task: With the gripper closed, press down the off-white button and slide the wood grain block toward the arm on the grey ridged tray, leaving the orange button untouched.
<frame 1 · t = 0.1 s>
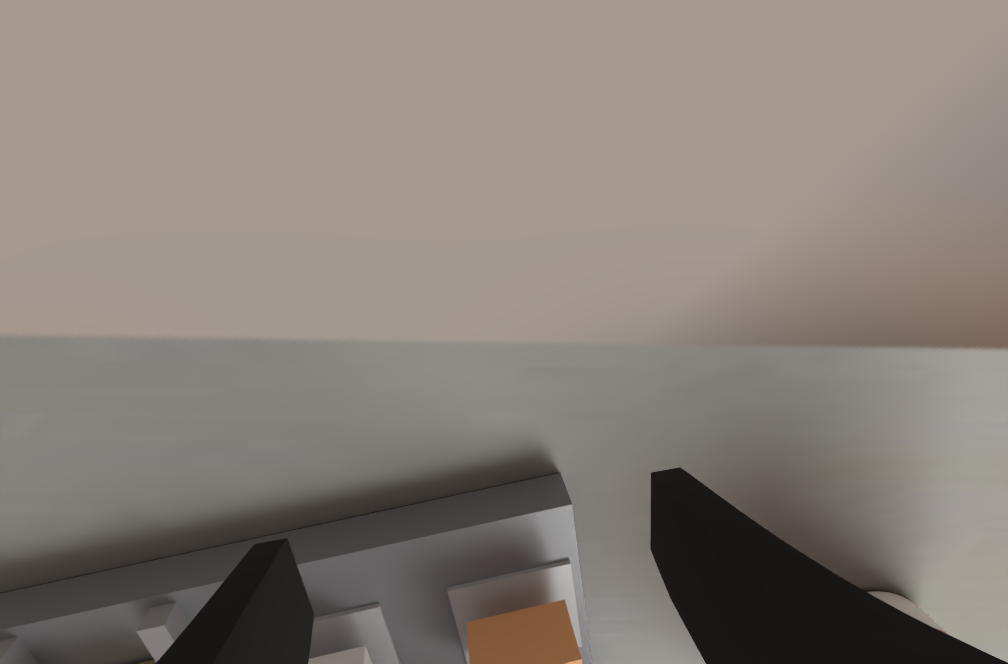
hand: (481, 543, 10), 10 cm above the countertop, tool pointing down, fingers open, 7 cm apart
grey ridged tray: (325, 637, 24), on the countertop
fruit juice: (839, 642, 30), on the countertop
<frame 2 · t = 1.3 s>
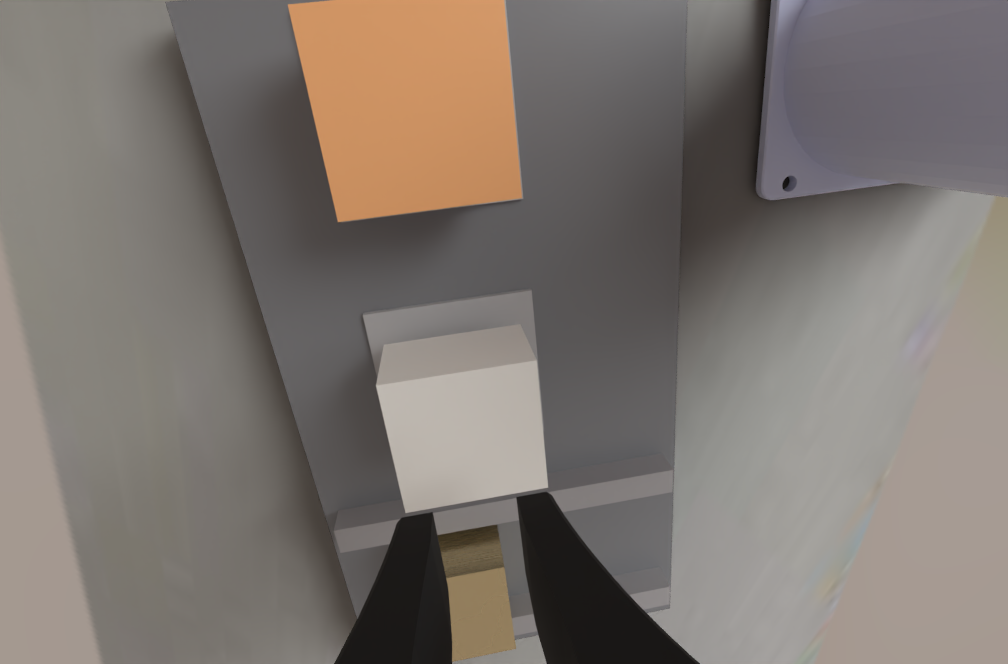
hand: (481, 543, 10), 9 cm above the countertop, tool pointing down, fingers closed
wood grain block: (465, 589, 19), point 3 cm above the countertop, slide at 0.0 cm
grey ridged tray: (486, 369, 19), on the countertop
off-white button: (464, 415, 15), point 5 cm above the countertop, slide at 0.0 cm
orange button: (416, 110, 12), point 5 cm above the countertop, slide at 0.0 cm
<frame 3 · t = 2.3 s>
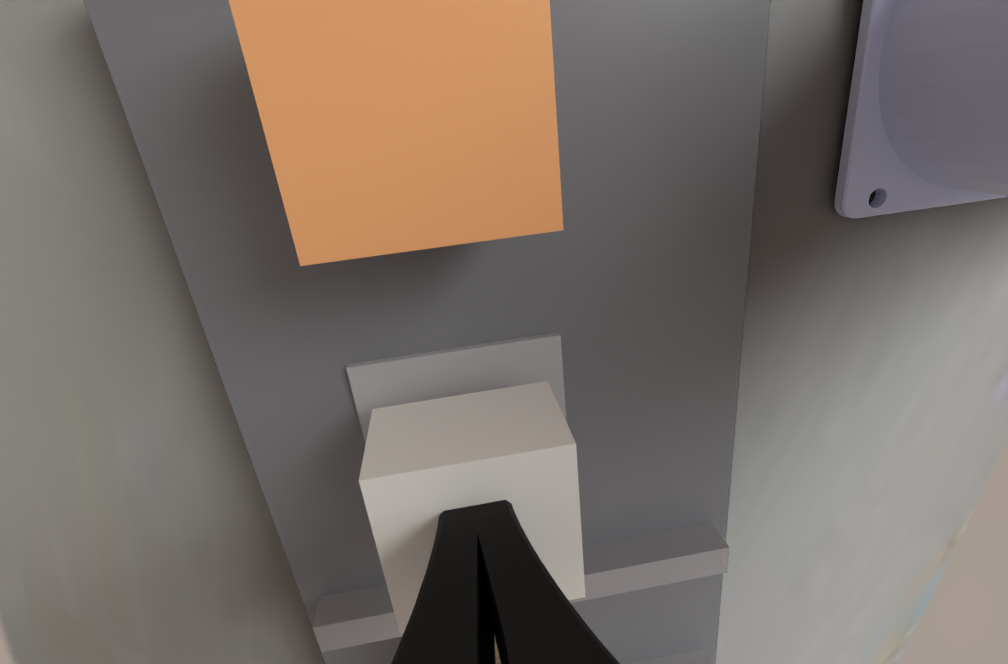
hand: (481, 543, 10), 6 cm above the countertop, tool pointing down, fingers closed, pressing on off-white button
grey ridged tray: (500, 421, 16), on the countertop
off-white button: (477, 501, 11), point 5 cm above the countertop, slide at 0.0 cm, touching gripper
orange button: (413, 106, 8), point 5 cm above the countertop, slide at 0.0 cm
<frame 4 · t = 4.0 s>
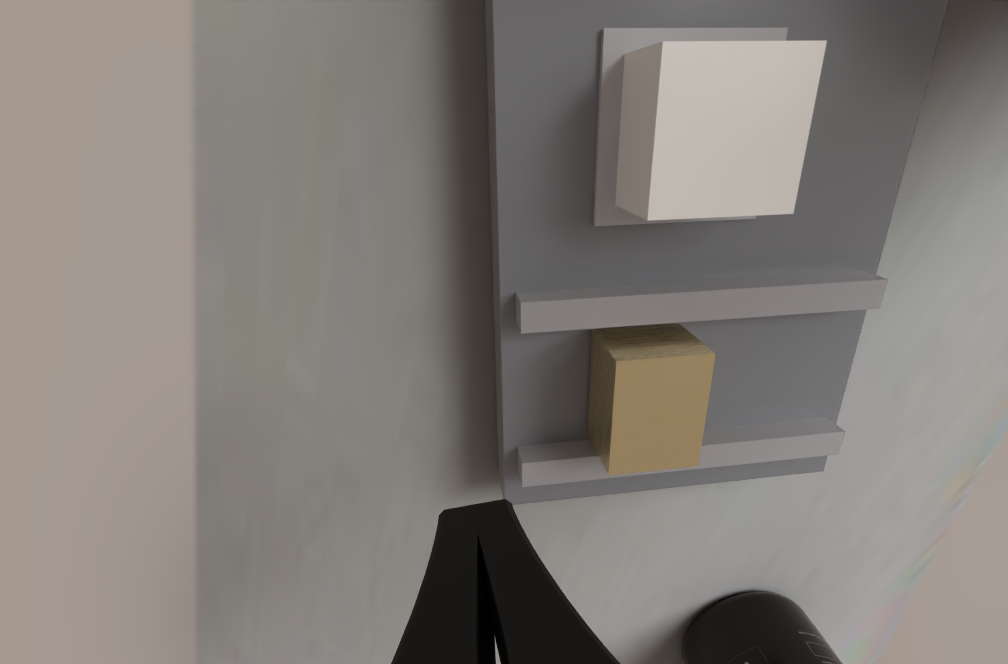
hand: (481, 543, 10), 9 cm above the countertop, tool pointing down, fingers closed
wood grain block: (644, 397, 17), point 3 cm above the countertop, slide at 0.0 cm
grey ridged tray: (681, 161, 17), on the countertop
supplement bottle: (736, 630, 28), on the countertop
off-white button: (708, 132, 14), point 3 cm above the countertop, slide at 1.1 cm, touching grey ridged tray
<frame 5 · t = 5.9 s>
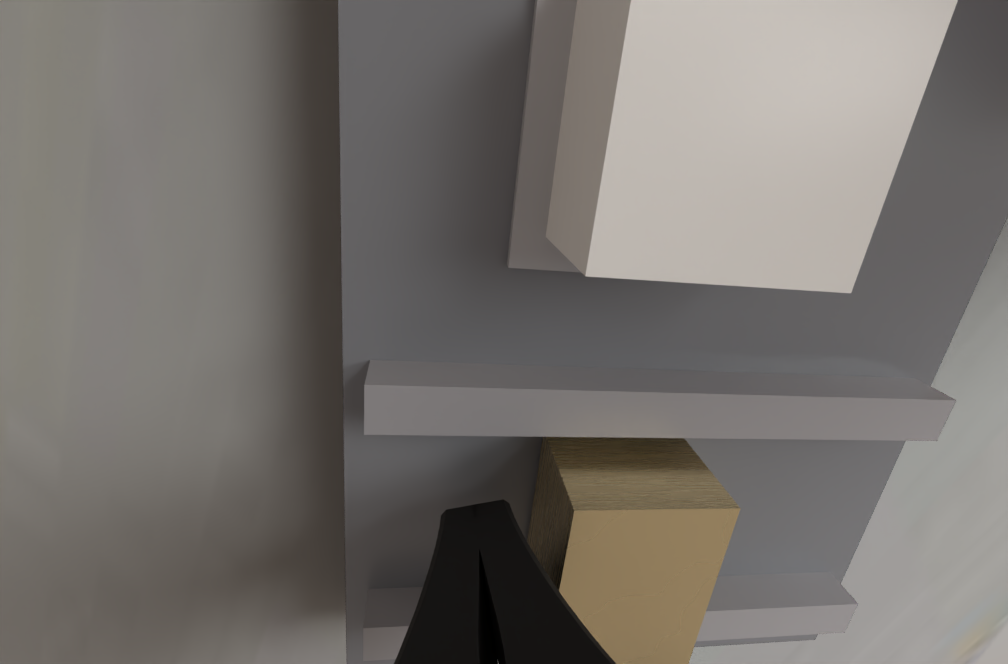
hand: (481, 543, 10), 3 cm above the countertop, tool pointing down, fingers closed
wood grain block: (614, 547, 11), point 3 cm above the countertop, slide at 1.0 cm, touching gripper
grey ridged tray: (664, 180, 11), on the countertop
off-white button: (714, 128, 8), point 3 cm above the countertop, slide at 1.1 cm, touching grey ridged tray
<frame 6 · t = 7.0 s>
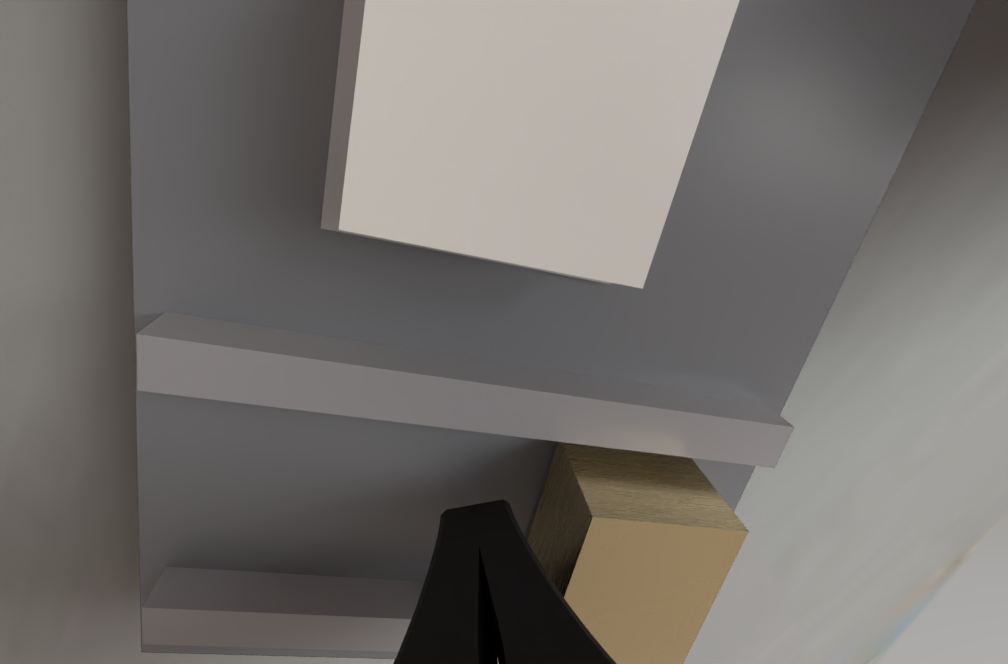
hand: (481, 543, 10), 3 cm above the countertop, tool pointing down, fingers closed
wood grain block: (615, 558, 11), point 3 cm above the countertop, slide at 5.0 cm, touching gripper
grey ridged tray: (528, 166, 11), on the countertop
off-white button: (520, 97, 7), point 3 cm above the countertop, slide at 1.1 cm, touching grey ridged tray
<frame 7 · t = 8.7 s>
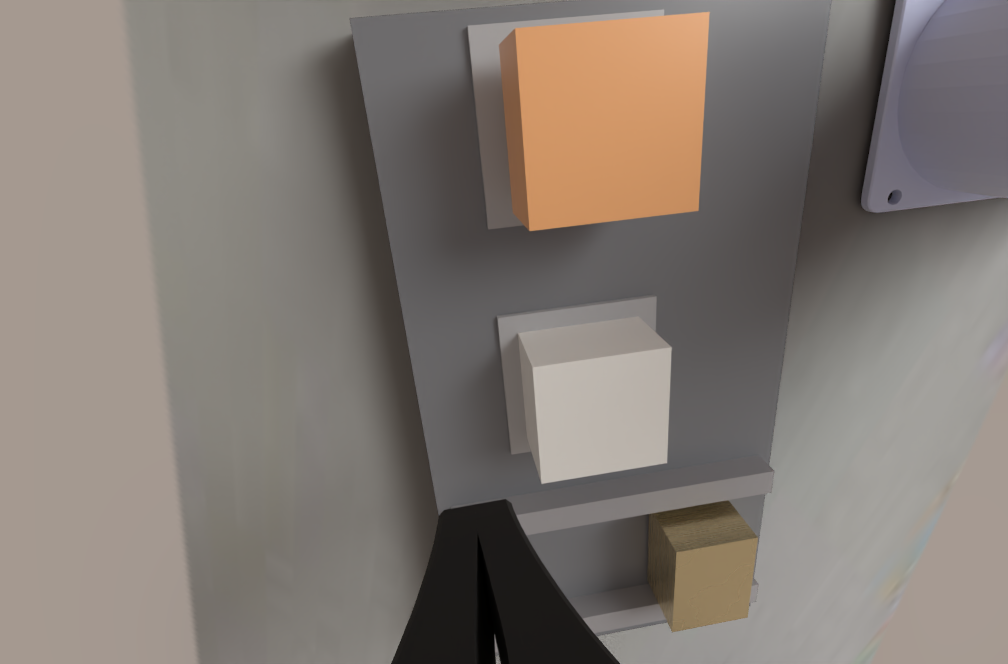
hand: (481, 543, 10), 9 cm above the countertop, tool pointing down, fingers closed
wood grain block: (697, 560, 20), point 3 cm above the countertop, slide at 5.0 cm
grey ridged tray: (591, 371, 20), on the countertop
off-white button: (591, 397, 16), point 3 cm above the countertop, slide at 1.1 cm, touching grey ridged tray
orange button: (597, 126, 12), point 5 cm above the countertop, slide at 0.0 cm
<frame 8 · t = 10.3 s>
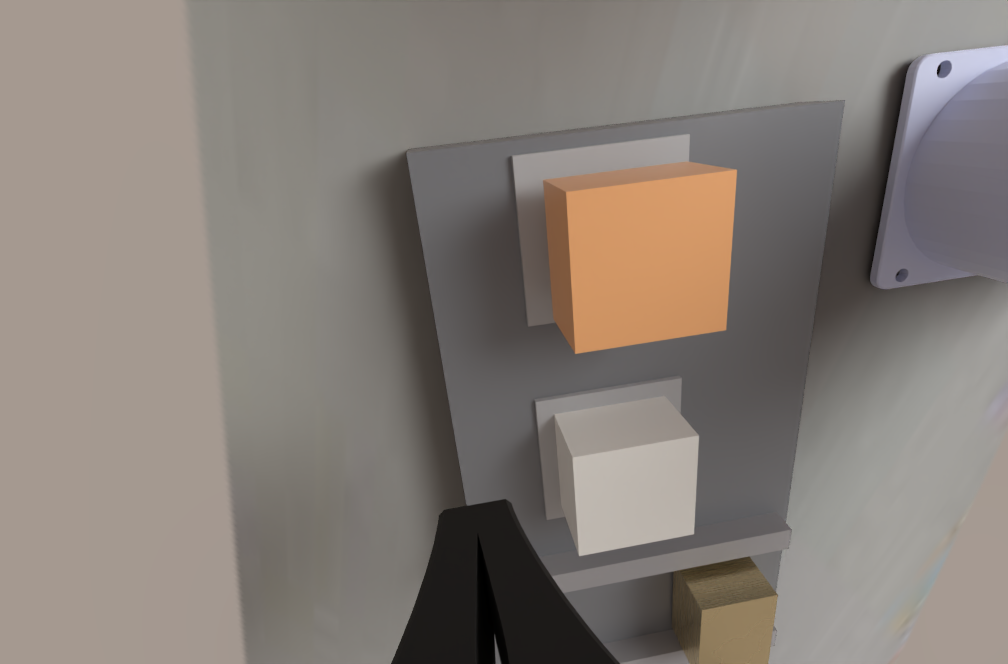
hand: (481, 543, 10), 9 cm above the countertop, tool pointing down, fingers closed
wood grain block: (720, 612, 21), point 3 cm above the countertop, slide at 5.0 cm
grey ridged tray: (618, 436, 21), on the countertop
off-white button: (623, 473, 18), point 3 cm above the countertop, slide at 1.1 cm, touching grey ridged tray
orange button: (633, 253, 14), point 5 cm above the countertop, slide at 0.0 cm
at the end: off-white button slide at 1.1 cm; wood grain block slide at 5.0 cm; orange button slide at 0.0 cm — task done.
